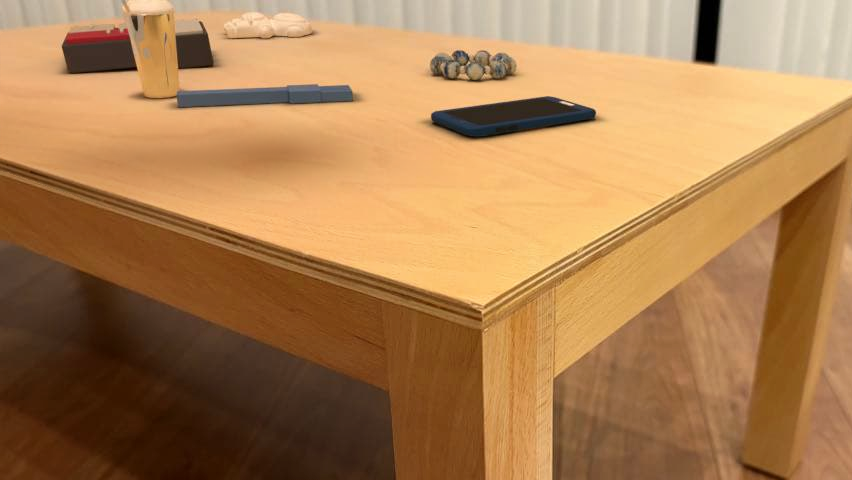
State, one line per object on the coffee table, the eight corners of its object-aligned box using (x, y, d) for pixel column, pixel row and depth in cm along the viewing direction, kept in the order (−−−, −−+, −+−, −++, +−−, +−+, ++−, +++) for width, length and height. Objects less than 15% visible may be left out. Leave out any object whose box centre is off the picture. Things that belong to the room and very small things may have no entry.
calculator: (65, 24, 100) (200, 14, 106) (75, 62, 102) (207, 50, 107) (58, 38, 91) (206, 26, 96) (69, 79, 93) (214, 65, 98)
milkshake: (119, 98, 83) (99, -12, 78) (163, 88, 87) (146, -17, 83) (154, 103, 81) (135, -9, 77) (197, 93, 85) (181, -14, 81)
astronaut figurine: (223, 31, 123) (220, 9, 122) (308, 28, 127) (306, 7, 126) (226, 40, 116) (223, 16, 115) (316, 37, 120) (314, 14, 119)
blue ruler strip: (177, 109, 79) (175, 96, 79) (179, 102, 82) (177, 89, 81) (353, 100, 84) (352, 88, 83) (349, 94, 86) (348, 82, 86)
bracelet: (532, 72, 99) (532, 55, 98) (480, 85, 92) (480, 66, 91) (465, 63, 104) (465, 46, 103) (411, 74, 97) (411, 56, 96)
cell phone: (599, 117, 79) (599, 109, 79) (471, 138, 71) (471, 129, 71) (551, 103, 84) (551, 95, 84) (427, 120, 77) (427, 112, 76)
